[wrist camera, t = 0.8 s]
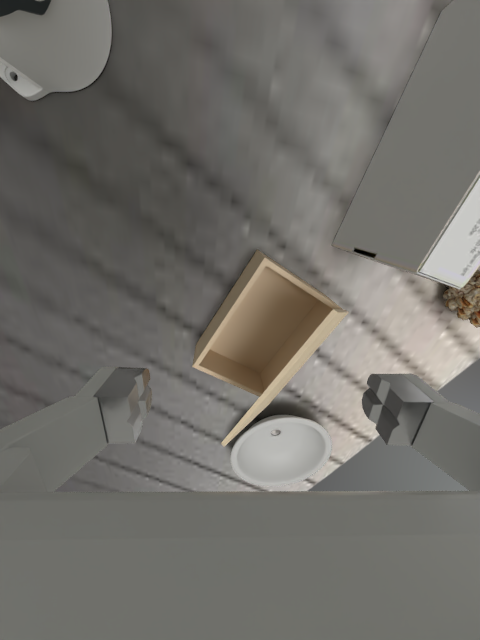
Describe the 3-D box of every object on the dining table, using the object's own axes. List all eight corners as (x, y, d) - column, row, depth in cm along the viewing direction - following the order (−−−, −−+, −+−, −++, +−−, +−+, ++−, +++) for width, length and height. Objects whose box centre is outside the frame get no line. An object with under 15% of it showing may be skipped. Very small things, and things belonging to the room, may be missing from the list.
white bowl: (339, 411, 60) (352, 434, 54) (290, 469, 68) (297, 494, 62) (256, 383, 54) (261, 405, 48) (214, 450, 62) (213, 476, 56)
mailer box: (195, 344, 48) (192, 367, 41) (257, 249, 41) (264, 257, 34) (259, 375, 53) (266, 400, 46) (324, 294, 46) (343, 309, 39)
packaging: (359, 256, 43) (462, 290, 25) (330, 245, 42) (416, 273, 24) (476, 34, 31) (822, -199, 13) (440, 10, 30) (771, -283, 12)
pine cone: (500, 286, 48) (564, 304, 39) (462, 324, 51) (514, 348, 42) (430, 231, 42) (487, 237, 33) (392, 278, 45) (435, 295, 36)
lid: (221, 443, 31) (224, 446, 31) (333, 308, 24) (338, 312, 24) (266, 402, 45) (268, 404, 45) (345, 310, 38) (348, 312, 38)
